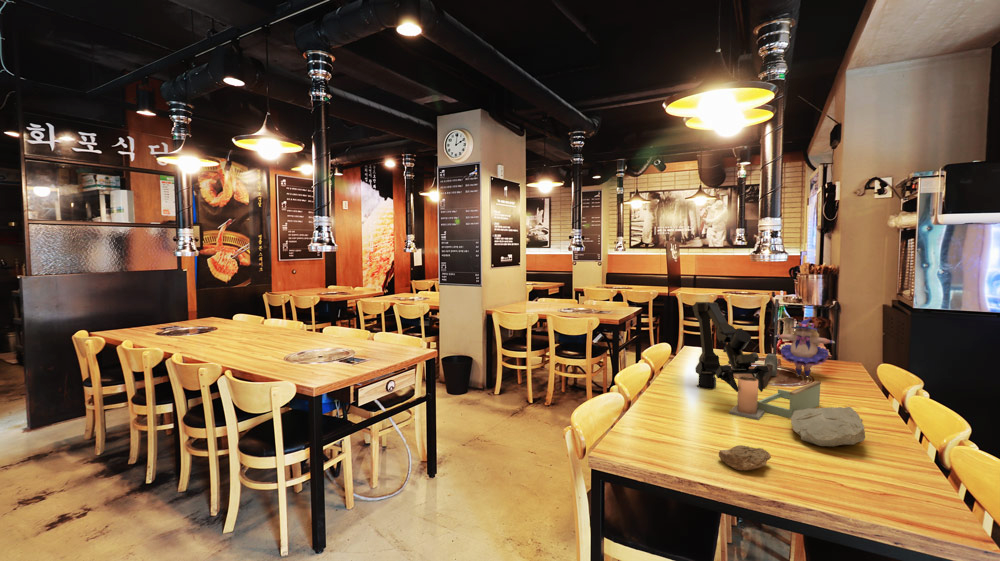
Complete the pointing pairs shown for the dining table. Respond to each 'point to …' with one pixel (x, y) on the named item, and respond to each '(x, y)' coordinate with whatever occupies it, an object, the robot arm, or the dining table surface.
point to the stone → (828, 426)
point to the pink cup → (747, 395)
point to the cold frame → (793, 400)
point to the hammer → (770, 367)
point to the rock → (744, 457)
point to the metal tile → (752, 416)
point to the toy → (804, 347)
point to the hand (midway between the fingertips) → (749, 391)
